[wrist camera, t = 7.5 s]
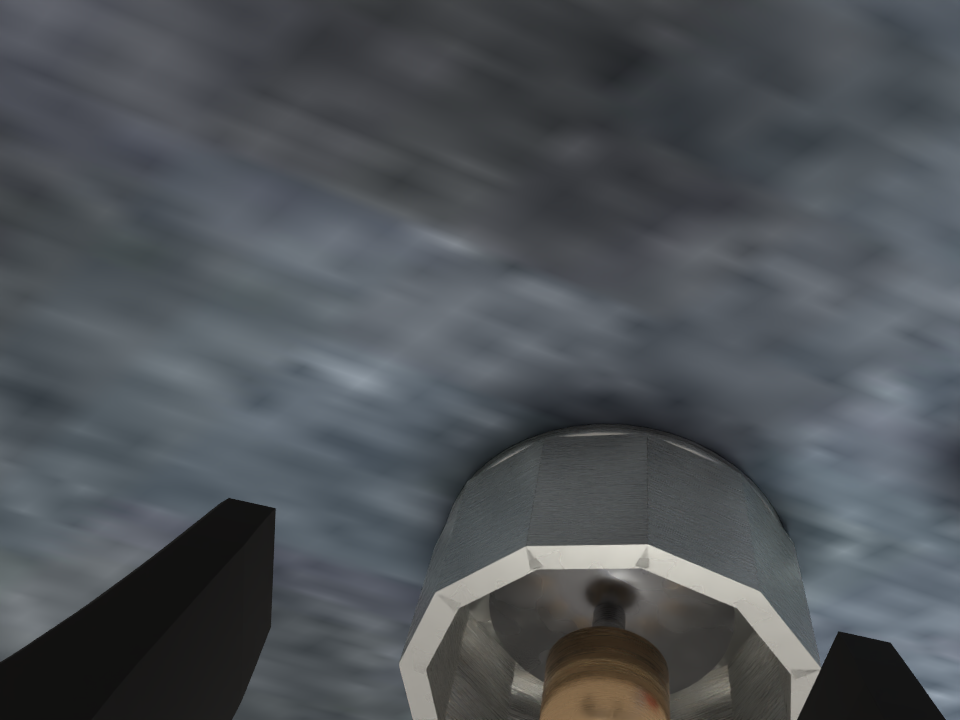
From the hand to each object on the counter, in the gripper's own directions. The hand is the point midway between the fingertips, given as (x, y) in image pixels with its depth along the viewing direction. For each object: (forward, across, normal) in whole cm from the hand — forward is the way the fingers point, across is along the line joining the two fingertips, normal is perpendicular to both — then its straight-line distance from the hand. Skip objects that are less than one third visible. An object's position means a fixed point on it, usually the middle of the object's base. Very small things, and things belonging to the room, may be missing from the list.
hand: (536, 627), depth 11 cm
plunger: (+9, -2, +8) cm, 12 cm away
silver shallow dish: (+10, -2, +9) cm, 14 cm away
